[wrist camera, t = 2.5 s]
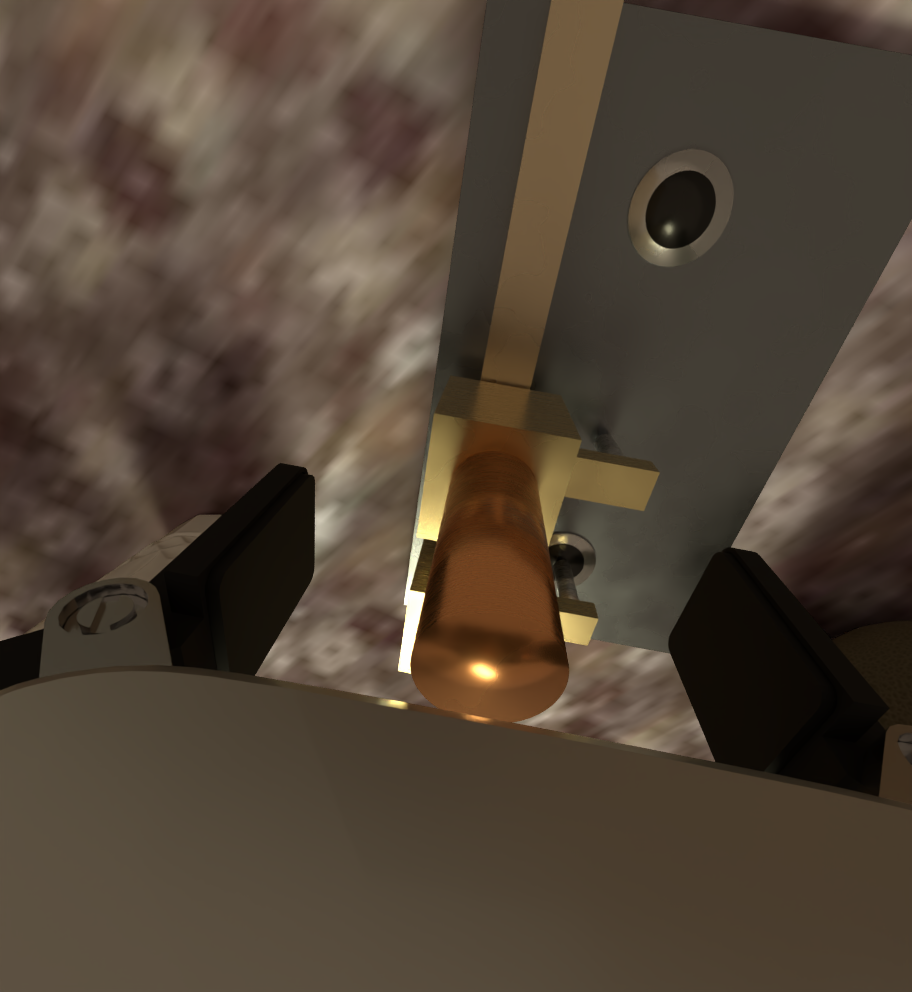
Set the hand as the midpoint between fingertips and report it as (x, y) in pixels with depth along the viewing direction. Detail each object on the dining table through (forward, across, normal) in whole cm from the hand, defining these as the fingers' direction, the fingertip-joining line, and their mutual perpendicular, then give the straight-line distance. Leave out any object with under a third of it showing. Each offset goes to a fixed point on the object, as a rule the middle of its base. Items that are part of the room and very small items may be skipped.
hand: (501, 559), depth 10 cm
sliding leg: (+11, -2, 0) cm, 11 cm away
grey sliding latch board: (+12, -5, -1) cm, 13 cm away
